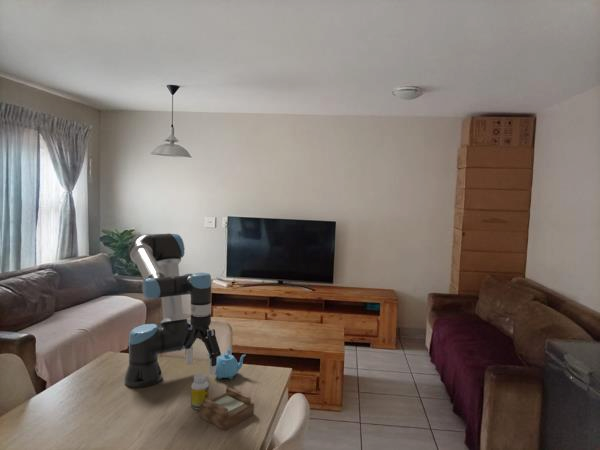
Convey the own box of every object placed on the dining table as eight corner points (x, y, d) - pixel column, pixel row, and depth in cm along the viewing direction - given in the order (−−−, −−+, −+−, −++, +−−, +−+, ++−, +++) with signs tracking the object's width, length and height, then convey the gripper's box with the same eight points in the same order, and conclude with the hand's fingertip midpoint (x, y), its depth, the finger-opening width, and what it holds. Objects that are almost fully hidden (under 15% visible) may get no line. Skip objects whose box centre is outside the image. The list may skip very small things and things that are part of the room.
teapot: (229, 367, 191) (229, 346, 190) (247, 376, 182) (247, 354, 181) (206, 375, 181) (206, 353, 181) (223, 385, 172) (223, 362, 172)
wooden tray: (199, 416, 148) (199, 399, 147) (228, 401, 159) (228, 385, 158) (225, 430, 139) (225, 412, 139) (253, 414, 150) (254, 397, 150)
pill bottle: (204, 411, 151) (204, 380, 151) (188, 408, 153) (188, 378, 152) (211, 402, 158) (211, 373, 157) (195, 400, 159) (196, 371, 158)
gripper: (172, 310, 158) (172, 363, 159) (214, 322, 142) (214, 381, 143) (188, 306, 163) (188, 358, 165) (230, 318, 148) (230, 374, 149)
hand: (200, 369), depth 154 cm, fingers open, 13 cm apart
